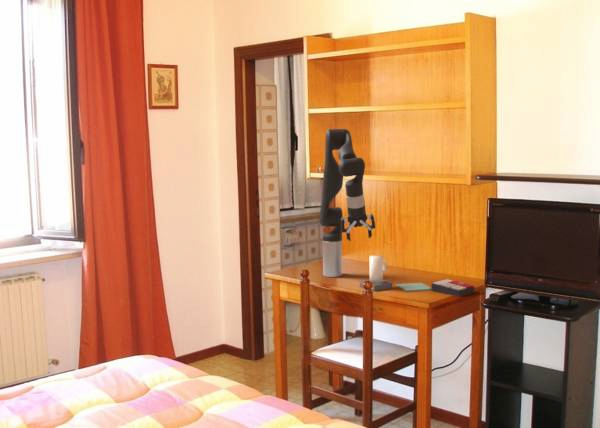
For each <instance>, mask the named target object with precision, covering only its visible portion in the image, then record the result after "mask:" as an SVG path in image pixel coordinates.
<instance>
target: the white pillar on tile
mask: <svg viewBox="0 0 600 428" xmlns="http://www.w3.org/2000/svg"><path fill="white" fill-rule="evenodd" d="M368 257H369V259H368V260H369V265H368V266H369V267H368V269H369V273H368V275H369V278H368V280H369V281H370V282H372V283H373V284H374V285H377V284H383V280H384V273H386V272H387V260H384V256H383V255H375V254H374V255H369V256H368Z"/></svg>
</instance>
